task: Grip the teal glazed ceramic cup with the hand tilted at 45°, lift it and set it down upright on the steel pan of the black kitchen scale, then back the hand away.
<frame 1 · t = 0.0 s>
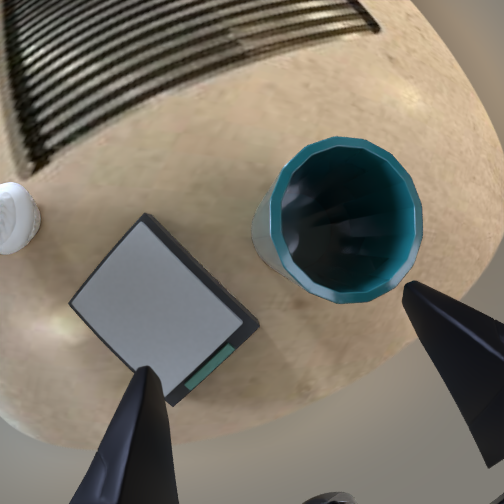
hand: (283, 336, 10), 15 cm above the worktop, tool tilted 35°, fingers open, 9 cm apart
white frosted cupcake: (29, 220, 24), on the worktop
cup: (293, 231, 25), on the worktop
scale: (161, 311, 24), on the worktop
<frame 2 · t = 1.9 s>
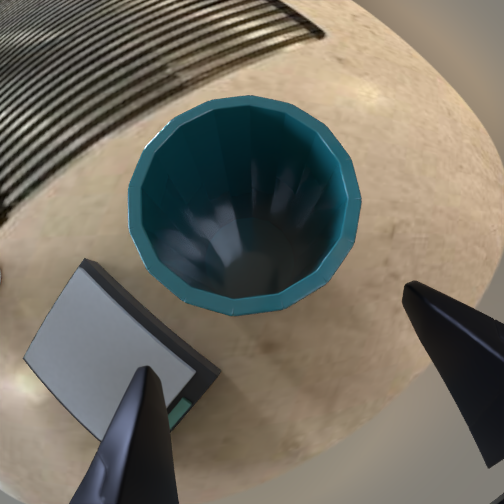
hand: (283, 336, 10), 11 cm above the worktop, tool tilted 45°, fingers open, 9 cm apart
cup: (249, 262, 21), on the worktop
scale: (115, 366, 20), on the worktop
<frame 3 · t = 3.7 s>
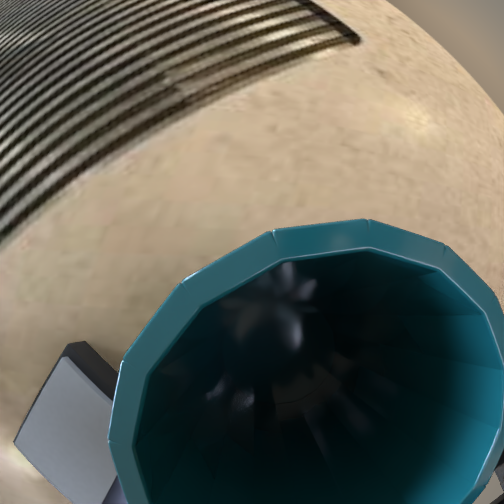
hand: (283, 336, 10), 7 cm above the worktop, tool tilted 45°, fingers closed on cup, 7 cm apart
cup: (278, 349, 16), on the worktop, touching gripper
scale: (119, 458, 15), on the worktop
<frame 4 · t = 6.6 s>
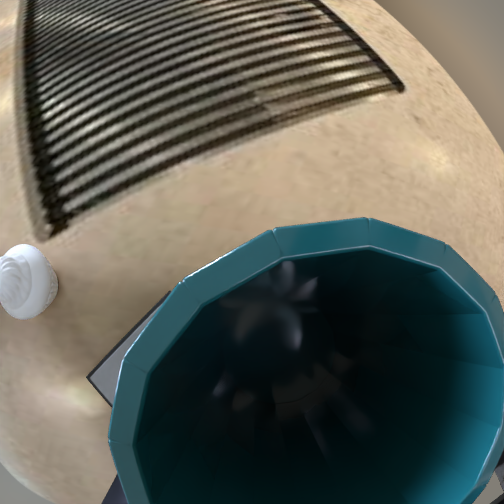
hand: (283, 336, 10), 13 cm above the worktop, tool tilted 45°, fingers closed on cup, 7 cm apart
white frosted cupcake: (46, 285, 24), on the worktop
cup: (278, 349, 16), point 7 cm above the worktop, touching gripper
scale: (186, 391, 22), on the worktop
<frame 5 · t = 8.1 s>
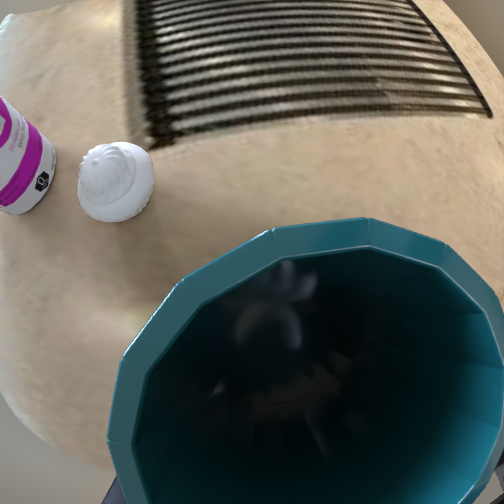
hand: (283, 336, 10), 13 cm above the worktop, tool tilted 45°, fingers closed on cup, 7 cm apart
supplement can: (30, 178, 25), on the worktop
white frosted cupcake: (131, 197, 24), on the worktop
cup: (278, 349, 16), point 6 cm above the worktop, touching gripper
when the fingers open (9 cm above the worktop, at t = 9.6 s): cup stays where it is, resting on scale.
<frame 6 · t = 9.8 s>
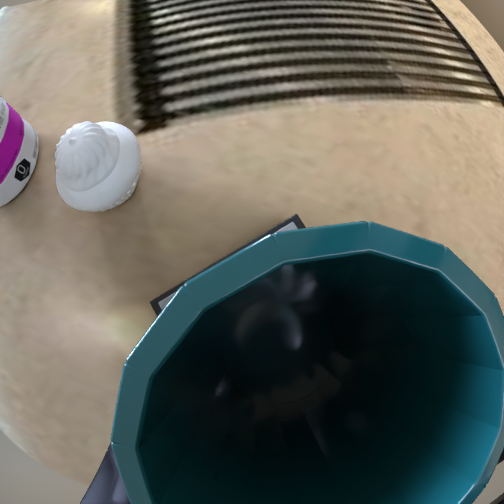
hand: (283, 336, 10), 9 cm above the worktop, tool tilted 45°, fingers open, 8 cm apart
supplement can: (12, 168, 22), on the worktop
white frosted cupcake: (117, 186, 21), on the worktop
cup: (279, 350, 16), point 3 cm above the worktop, touching scale
scale: (276, 344, 19), on the worktop
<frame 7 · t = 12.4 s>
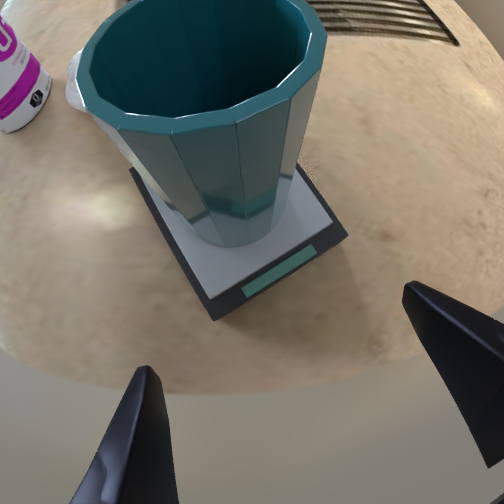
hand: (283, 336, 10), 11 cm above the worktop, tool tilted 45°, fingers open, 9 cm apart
supplement can: (26, 104, 25), on the worktop
white frosted cupcake: (113, 102, 24), on the worktop
cup: (231, 194, 19), point 3 cm above the worktop, touching scale
scale: (234, 207, 22), on the worktop
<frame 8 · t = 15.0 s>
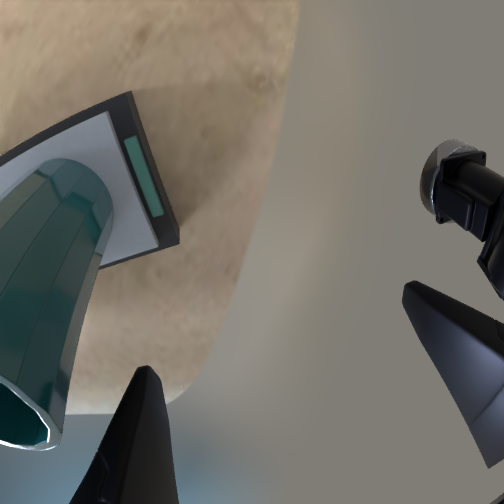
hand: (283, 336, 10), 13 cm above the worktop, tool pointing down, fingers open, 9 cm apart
cup: (63, 211, 16), point 3 cm above the worktop, touching scale
scale: (75, 194, 18), on the worktop
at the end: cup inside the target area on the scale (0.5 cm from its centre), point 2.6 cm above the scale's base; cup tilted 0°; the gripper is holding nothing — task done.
